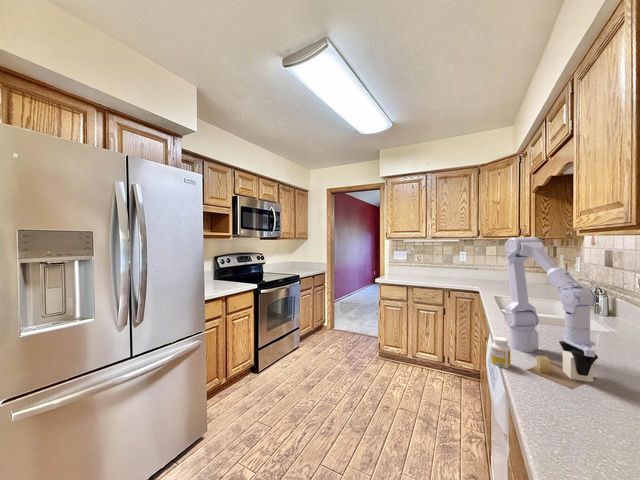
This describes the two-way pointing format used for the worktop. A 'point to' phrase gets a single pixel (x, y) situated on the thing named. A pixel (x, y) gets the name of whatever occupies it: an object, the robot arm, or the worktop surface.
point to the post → (543, 364)
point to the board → (558, 376)
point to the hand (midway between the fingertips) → (577, 370)
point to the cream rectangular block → (574, 368)
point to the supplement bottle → (500, 352)
